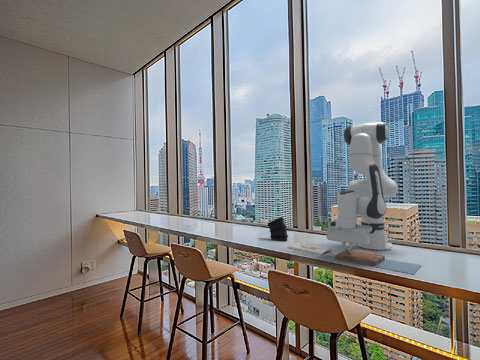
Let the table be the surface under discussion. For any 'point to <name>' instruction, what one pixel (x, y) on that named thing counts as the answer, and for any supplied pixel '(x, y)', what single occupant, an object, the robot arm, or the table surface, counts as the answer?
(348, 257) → the deck
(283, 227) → the black folded cloth
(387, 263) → the mat
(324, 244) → the table surface
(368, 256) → the salmon pink block
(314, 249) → the newspaper
